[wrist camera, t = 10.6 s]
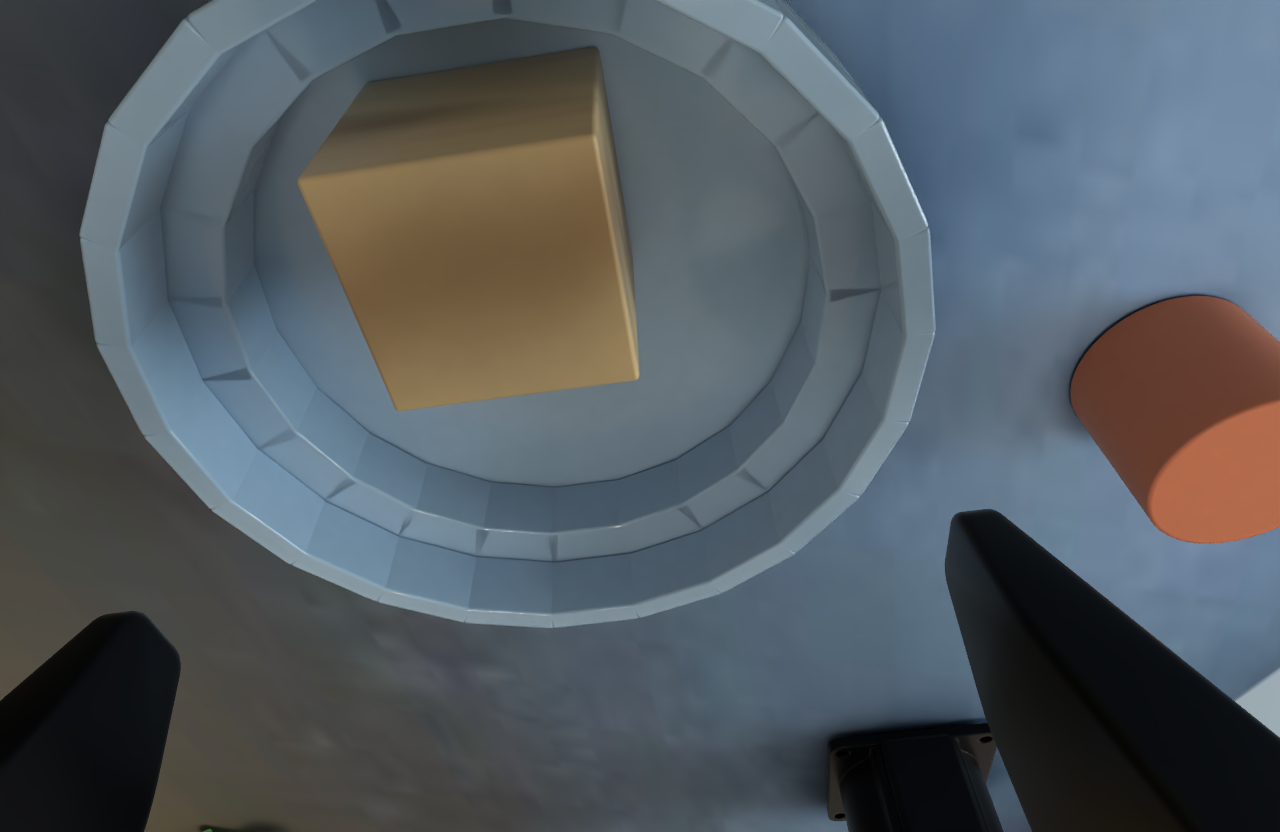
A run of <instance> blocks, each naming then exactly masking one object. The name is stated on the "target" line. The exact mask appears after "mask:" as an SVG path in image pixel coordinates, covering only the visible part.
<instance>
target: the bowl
mask: <svg viewBox="0 0 1280 832" xmlns="http://www.w3.org/2000/svg"><path fill="white" fill-rule="evenodd" d="M589 47H596V48H598V50H599V51H600V57H601V63H602V70H603V76H604V82H605V88H606V94H607V100H608V107H609V113H610V119H611V125H612V131H613V137H614V143H615V150H616V156H617V162H618V168H619V174H620V180H621V186H622V193H623V199H624V205H625V211H626V217H627V223H628V230H629V236H630V242H631V248H632V254H633V267H634V285H635V304H636V322H637V340H638V359H639V377H638V379H637V380H635V381H628V382H620V383H612V384H605V385H597V386H590V387H582V388H574V389H567V390H559V391H552V392H544V393H537V394H529V395H521V396H514V397H506V398H499V399H491V400H483V401H476V402H468V403H461V404H453V405H445V406H438V407H430V408H423V409H415V410H407V411H397V410H396V409H395V408H394V405H393V403H392V401H391V398H390V396H389V394H388V391H387V389H386V387H385V384H384V382H383V380H382V378H381V375H380V373H379V371H378V368H377V366H376V364H375V361H374V359H373V357H372V355H371V352H370V350H369V348H368V345H367V343H366V341H365V338H364V336H363V334H362V331H361V329H360V327H359V325H358V322H357V320H356V318H355V315H354V313H353V311H352V308H351V306H350V304H349V301H348V299H347V297H346V295H345V292H344V290H343V288H342V285H341V283H340V281H339V278H338V276H337V274H336V272H335V269H334V267H333V265H332V262H331V260H330V258H329V255H328V253H327V251H326V248H325V246H324V244H323V242H322V239H321V237H320V235H319V232H318V230H317V228H316V225H315V223H314V221H313V218H312V216H311V214H310V212H309V209H308V207H307V205H306V202H305V200H304V198H303V195H302V193H301V191H300V189H299V186H298V178H299V176H300V175H301V173H302V172H303V171H304V169H305V168H306V166H307V165H308V164H309V162H310V161H311V159H312V158H313V157H314V155H315V154H316V152H317V151H318V150H319V148H320V147H321V145H322V144H323V143H324V141H325V140H326V138H327V137H328V136H329V134H330V133H331V131H332V130H333V129H334V127H335V126H336V124H337V123H338V121H339V120H340V119H341V117H342V116H343V114H344V113H345V112H346V110H347V109H348V107H349V106H350V105H351V103H352V102H353V100H354V99H355V98H356V96H357V95H358V93H359V92H360V91H361V89H362V88H363V86H364V85H365V84H366V83H368V82H375V81H381V80H387V79H394V78H400V77H406V76H413V75H419V74H425V73H432V72H438V71H444V70H450V69H457V68H463V67H469V66H476V65H482V64H488V63H495V62H501V61H507V60H514V59H520V58H526V57H532V56H539V55H545V54H551V53H558V52H564V51H570V50H577V49H583V48H589ZM79 236H80V237H81V238H80V244H81V251H82V258H83V264H84V271H85V277H86V284H87V290H88V297H89V303H90V310H91V317H92V323H93V330H94V336H95V341H96V343H97V348H98V350H99V352H100V354H101V356H102V358H103V360H104V361H105V363H106V365H107V367H108V369H109V371H110V373H111V375H112V377H113V379H114V381H115V383H116V385H117V387H118V389H119V391H120V393H121V394H122V396H123V398H124V400H125V402H126V404H127V406H128V408H129V410H130V412H131V414H132V416H133V418H134V420H135V422H136V424H137V426H138V427H139V429H140V431H141V433H142V434H143V435H144V437H145V439H146V440H147V441H148V442H149V443H150V445H151V446H152V447H153V448H154V449H155V450H156V451H157V452H158V453H159V454H160V455H161V457H162V458H163V459H164V460H165V461H166V462H167V463H168V464H169V465H170V466H171V467H172V468H173V470H174V471H175V472H176V473H177V474H178V475H179V476H180V477H181V478H182V479H183V480H184V482H185V483H186V484H187V485H188V486H189V487H190V488H191V489H192V490H193V491H194V492H195V494H196V495H197V496H198V497H199V498H200V499H201V500H202V501H203V502H204V503H205V504H206V505H207V507H208V508H210V509H212V512H214V513H215V514H217V515H218V516H220V517H221V518H223V519H224V520H226V521H227V522H228V523H230V524H231V525H233V526H234V527H236V528H237V529H239V530H240V531H241V532H243V533H244V534H246V535H247V536H249V537H250V538H252V539H253V540H254V541H256V542H257V543H259V544H260V545H262V546H263V547H265V548H266V549H267V550H269V551H270V552H272V553H273V554H275V555H276V556H278V557H279V558H281V559H282V560H283V561H285V562H286V563H288V564H292V565H293V566H294V567H297V568H299V569H301V570H304V571H306V572H308V573H310V574H313V575H315V576H317V577H320V578H322V579H324V580H327V581H329V582H331V583H333V584H336V585H338V586H340V587H343V588H345V589H347V590H350V591H352V592H354V593H357V594H359V595H361V596H363V597H366V598H368V599H370V600H373V601H377V602H379V603H382V604H387V605H391V606H395V607H399V608H403V609H408V610H412V611H416V612H420V613H425V614H429V615H433V616H437V617H442V618H446V619H450V620H454V621H458V622H464V621H465V622H466V623H472V624H489V625H505V626H521V627H538V628H552V627H554V628H560V627H569V626H578V625H587V624H596V623H605V622H614V621H623V620H632V619H637V618H638V617H639V618H643V617H646V616H649V615H653V614H656V613H659V612H663V611H666V610H669V609H673V608H676V607H679V606H683V605H686V604H689V603H693V602H696V601H699V600H702V599H706V598H709V597H712V596H716V595H718V594H720V593H724V592H726V591H728V590H730V589H732V588H733V587H735V586H737V585H739V584H741V583H743V582H745V581H746V580H748V579H750V578H752V577H754V576H756V575H758V574H759V573H761V572H763V571H765V570H767V569H769V568H771V567H772V566H774V565H776V564H778V563H780V562H782V561H784V560H786V559H787V558H789V557H791V556H793V555H794V554H795V552H798V551H799V550H801V549H802V548H803V547H804V546H805V545H806V544H807V543H809V542H810V541H811V540H812V539H813V538H814V537H815V536H817V535H818V534H819V533H820V532H821V531H822V530H823V529H825V528H826V527H827V526H828V525H829V524H830V523H831V522H832V521H834V520H835V519H836V518H837V517H838V516H839V515H840V514H842V513H843V512H844V511H845V510H846V509H847V508H848V507H850V506H851V505H852V504H853V503H854V502H855V501H856V500H858V499H859V496H861V495H862V494H863V492H864V491H865V489H866V488H867V486H868V485H869V483H870V482H871V480H872V479H873V477H874V476H875V474H876V473H877V471H878V470H879V468H880V467H881V465H882V464H883V462H884V461H885V459H886V458H887V456H888V455H889V453H890V452H891V450H892V449H893V447H894V446H895V444H896V443H897V441H898V440H899V438H900V437H901V435H902V434H903V432H904V431H905V429H906V428H907V426H908V422H909V421H910V420H911V417H912V413H913V410H914V406H915V403H916V399H917V396H918V392H919V389H920V385H921V382H922V378H923V375H924V371H925V368H926V364H927V361H928V357H929V354H930V350H931V347H932V343H933V340H934V336H935V329H936V322H935V305H934V288H933V272H932V255H931V238H930V229H929V228H928V221H927V219H926V217H925V214H924V212H923V210H922V207H921V205H920V203H919V201H918V198H917V196H916V194H915V191H914V189H913V187H912V185H911V182H910V180H909V178H908V176H907V173H906V171H905V169H904V166H903V164H902V162H901V160H900V157H899V155H898V153H897V150H896V148H895V146H894V144H893V141H892V139H891V137H890V134H889V132H888V130H887V128H886V125H885V123H884V121H883V119H882V118H881V116H880V115H879V113H878V112H877V110H876V109H875V108H874V106H873V105H872V104H871V102H870V101H869V100H868V98H867V97H866V96H865V94H864V93H863V92H862V90H861V89H860V88H859V86H858V85H857V84H856V82H855V81H854V80H853V78H852V77H851V75H850V74H849V73H848V71H847V70H846V69H845V67H844V66H843V65H842V63H841V62H840V61H839V59H838V58H837V57H836V55H835V54H834V53H833V51H832V50H831V49H830V48H829V47H828V46H827V45H826V44H825V43H824V42H823V41H822V40H821V38H820V37H819V36H818V35H817V34H816V33H815V32H814V31H813V30H812V29H811V28H810V27H809V26H808V25H807V23H806V22H805V21H804V20H803V19H802V18H801V17H800V16H799V15H798V14H797V13H796V12H795V11H794V10H793V9H792V7H791V6H790V5H789V4H788V3H787V2H786V1H785V0H209V1H208V2H206V3H205V4H203V5H202V6H200V7H198V8H197V9H195V10H194V11H192V12H191V13H189V15H188V16H187V17H186V18H184V19H182V21H181V22H180V23H179V25H178V26H177V27H176V29H175V30H174V31H173V33H172V34H171V35H170V37H169V38H168V39H167V41H166V42H165V43H164V45H163V46H162V47H161V49H160V50H159V51H158V53H157V54H156V55H155V57H154V58H153V59H152V61H151V62H150V63H149V65H148V66H147V67H146V69H145V70H144V71H143V73H142V74H141V75H140V77H139V78H138V79H137V81H136V82H135V83H134V85H133V86H132V87H131V89H130V90H129V91H128V93H127V94H126V95H125V97H124V98H123V99H122V101H121V102H120V103H119V105H118V106H117V107H116V109H115V110H114V111H113V113H112V114H111V115H110V117H109V119H108V122H107V123H106V124H105V126H104V130H103V134H102V139H101V143H100V147H99V152H98V156H97V160H96V164H95V169H94V173H93V177H92V181H91V186H90V190H89V194H88V198H87V203H86V207H85V211H84V215H83V220H82V224H81V228H80V232H79Z"/></svg>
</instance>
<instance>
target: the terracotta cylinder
mask: <svg viewBox="0 0 1280 832" xmlns="http://www.w3.org/2000/svg"><path fill="white" fill-rule="evenodd" d="M1071 403H1072V407H1073V409H1074V412H1075V414H1076V415H1077V417H1078V418H1079V419H1080V421H1081V422H1082V424H1083V425H1084V427H1085V428H1086V429H1087V431H1088V432H1089V434H1090V435H1091V436H1092V438H1093V439H1094V441H1095V442H1096V444H1097V445H1098V446H1099V448H1100V449H1101V451H1102V452H1103V453H1104V455H1105V456H1106V458H1107V459H1108V461H1109V462H1110V463H1111V465H1112V466H1113V468H1114V469H1115V470H1116V472H1117V473H1118V475H1119V476H1120V478H1121V479H1122V480H1123V482H1124V483H1125V485H1126V486H1127V487H1128V489H1129V490H1130V492H1131V493H1132V495H1133V496H1134V497H1135V499H1136V500H1137V502H1138V503H1139V504H1140V506H1141V507H1142V509H1143V510H1144V512H1145V513H1146V514H1147V516H1148V517H1149V519H1150V520H1151V522H1152V523H1153V524H1154V526H1155V527H1157V528H1158V529H1159V530H1160V531H1162V532H1163V533H1165V534H1167V535H1168V536H1170V537H1173V538H1175V539H1178V540H1182V541H1186V542H1192V543H1223V542H1230V541H1236V540H1240V539H1245V538H1249V537H1253V536H1256V535H1259V534H1262V533H1265V532H1268V531H1271V530H1273V529H1276V528H1278V527H1280V342H1279V341H1278V340H1277V339H1276V338H1274V337H1273V336H1272V335H1271V334H1270V333H1269V332H1268V331H1267V330H1265V329H1264V328H1263V327H1262V326H1261V325H1260V324H1259V323H1257V322H1256V321H1255V320H1254V319H1253V318H1252V317H1251V316H1250V315H1248V314H1247V313H1246V312H1245V311H1244V310H1243V309H1241V308H1240V307H1239V306H1238V305H1236V304H1234V303H1232V302H1230V301H1227V300H1224V299H1221V298H1216V297H1210V296H1186V297H1179V298H1174V299H1170V300H1166V301H1162V302H1159V303H1156V304H1154V305H1151V306H1148V307H1146V308H1144V309H1142V310H1139V311H1137V312H1135V313H1133V314H1132V315H1130V316H1128V317H1126V318H1125V319H1123V320H1121V321H1120V322H1119V323H1117V324H1116V325H1114V326H1113V327H1111V328H1110V329H1109V330H1108V331H1107V332H1105V333H1104V334H1103V335H1102V336H1101V337H1100V338H1099V339H1098V340H1097V341H1096V342H1095V343H1094V344H1093V345H1092V346H1091V347H1090V349H1089V350H1088V351H1087V352H1086V353H1085V355H1084V356H1083V358H1082V360H1081V361H1080V363H1079V365H1078V367H1077V369H1076V371H1075V373H1074V376H1073V379H1072V384H1071Z"/></svg>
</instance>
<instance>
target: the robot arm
mask: <svg viewBox="0 0 1280 832" xmlns="http://www.w3.org/2000/svg"><path fill="white" fill-rule="evenodd" d="M945 575H946V581H947V585H948V589H949V592H950V596H951V599H952V603H953V606H954V610H955V613H956V617H957V620H958V624H959V627H960V631H961V634H962V638H963V641H964V645H965V648H966V652H967V655H968V659H969V662H970V666H971V669H972V673H973V676H974V680H975V683H976V687H977V690H978V694H979V697H980V701H981V704H982V707H983V710H984V714H985V717H986V720H987V722H988V723H982V724H972V725H962V726H952V727H943V728H933V729H923V730H913V731H903V732H893V733H883V734H873V735H863V736H853V737H843V738H837V739H834V740H832V741H831V742H830V743H829V744H828V772H827V812H828V817H829V819H830V820H833V821H847V826H848V830H849V832H1003V829H1002V826H1001V824H1000V821H999V818H998V816H997V813H996V810H995V807H994V805H993V802H992V799H991V797H990V794H989V791H988V788H987V786H986V781H987V777H988V774H989V770H990V767H991V764H992V760H993V757H994V753H995V750H996V746H997V748H998V750H999V753H1000V755H1001V757H1002V760H1003V762H1004V765H1005V767H1006V770H1007V772H1008V774H1009V777H1010V779H1011V782H1012V784H1013V786H1014V789H1015V791H1016V794H1017V796H1018V799H1019V801H1020V803H1021V806H1022V808H1023V811H1024V813H1025V816H1026V818H1027V820H1028V823H1029V825H1030V828H1031V830H1032V832H1280V738H1279V737H1278V736H1277V735H1276V734H1274V733H1273V732H1272V731H1271V730H1269V729H1268V728H1267V727H1266V726H1265V725H1263V724H1262V723H1261V722H1259V721H1258V720H1257V719H1256V718H1255V717H1253V716H1252V715H1251V714H1250V713H1248V712H1247V711H1246V710H1245V709H1243V708H1242V707H1241V706H1240V705H1238V704H1237V703H1236V702H1235V701H1233V700H1232V699H1231V698H1230V697H1228V696H1227V695H1226V694H1225V693H1223V692H1222V691H1221V690H1220V689H1218V688H1217V687H1216V686H1215V685H1214V684H1212V683H1211V682H1210V681H1209V680H1207V679H1206V678H1205V677H1204V676H1202V675H1201V674H1200V673H1199V672H1197V671H1196V670H1195V669H1194V668H1192V667H1191V666H1190V665H1189V664H1187V663H1186V662H1185V661H1184V660H1182V659H1181V658H1180V657H1179V656H1177V655H1176V654H1175V653H1174V652H1172V651H1171V650H1170V649H1169V648H1167V647H1166V646H1165V645H1164V644H1163V643H1161V642H1160V641H1159V640H1158V639H1156V638H1155V637H1154V636H1153V635H1151V634H1150V633H1149V632H1148V631H1146V630H1145V629H1144V628H1143V627H1141V626H1140V625H1139V624H1138V623H1136V622H1135V621H1134V620H1133V619H1131V618H1130V617H1129V616H1128V615H1126V614H1125V613H1124V612H1123V611H1121V610H1120V609H1119V608H1118V607H1116V606H1115V605H1114V604H1113V603H1112V602H1110V601H1109V600H1108V599H1107V598H1105V597H1104V596H1103V595H1102V594H1100V593H1099V592H1098V591H1097V590H1095V589H1094V588H1093V587H1092V586H1090V585H1089V584H1088V583H1087V582H1085V581H1084V580H1083V579H1082V578H1080V577H1079V576H1078V575H1077V574H1075V573H1074V572H1073V571H1072V570H1070V569H1069V568H1068V567H1067V566H1065V565H1064V564H1063V563H1062V562H1060V561H1059V560H1058V559H1057V558H1056V557H1054V556H1053V555H1052V554H1051V553H1049V552H1048V551H1047V550H1046V549H1044V548H1043V547H1042V546H1041V545H1039V544H1038V543H1037V542H1036V541H1034V540H1033V539H1032V538H1031V537H1029V536H1028V535H1027V534H1026V533H1024V532H1023V531H1022V530H1021V529H1019V528H1018V527H1017V526H1016V525H1014V524H1013V523H1012V522H1011V521H1009V520H1008V519H1007V518H1006V517H1005V516H1003V515H1002V514H1001V513H999V512H997V511H995V510H992V509H983V510H974V511H966V512H959V513H957V514H955V515H954V517H953V518H952V521H951V526H950V532H949V539H948V545H947V552H946V558H945ZM180 670H181V662H180V657H179V654H178V652H177V650H176V649H175V647H174V646H173V645H172V644H171V643H170V642H169V641H168V639H167V638H166V637H165V636H164V635H163V634H162V633H161V631H160V630H159V629H158V628H157V627H156V626H155V625H154V624H153V622H152V621H151V620H150V619H149V618H148V617H147V616H146V615H145V614H143V613H141V612H138V611H129V612H121V613H112V614H106V615H103V616H100V617H98V618H97V619H95V620H94V621H93V622H91V623H90V624H89V625H88V626H87V627H86V628H84V629H83V630H82V631H81V632H80V633H79V634H77V635H76V636H75V637H74V638H73V639H72V640H70V641H69V642H68V643H67V644H66V645H65V646H63V647H62V648H61V649H60V650H59V651H58V652H56V653H55V654H54V655H53V656H52V657H51V658H49V659H48V660H47V661H46V662H45V663H44V664H43V665H41V666H40V667H39V668H38V669H37V670H36V671H34V672H33V673H32V674H31V675H30V676H29V677H27V678H26V679H25V680H24V681H23V682H22V683H20V684H19V685H18V686H17V687H16V688H15V689H13V690H12V691H11V692H10V693H9V694H8V695H6V696H5V697H4V698H3V699H2V700H1V701H0V832H144V830H145V827H146V824H147V820H148V817H149V813H150V810H151V806H152V803H153V799H154V794H155V790H156V786H157V782H158V777H159V773H160V768H161V763H162V758H163V753H164V748H165V744H166V739H167V734H168V729H169V724H170V720H171V715H172V710H173V705H174V700H175V696H176V691H177V686H178V681H179V676H180Z"/></svg>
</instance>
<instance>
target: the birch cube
mask: <svg viewBox="0 0 1280 832" xmlns="http://www.w3.org/2000/svg"><path fill="white" fill-rule="evenodd" d="M298 186H299V189H300V191H301V193H302V195H303V198H304V200H305V202H306V205H307V207H308V209H309V212H310V214H311V216H312V218H313V221H314V223H315V225H316V228H317V230H318V232H319V235H320V237H321V239H322V242H323V244H324V246H325V248H326V251H327V253H328V255H329V258H330V260H331V262H332V265H333V267H334V269H335V272H336V274H337V276H338V278H339V281H340V283H341V285H342V288H343V290H344V292H345V295H346V297H347V299H348V301H349V304H350V306H351V308H352V311H353V313H354V315H355V318H356V320H357V322H358V325H359V327H360V329H361V331H362V334H363V336H364V338H365V341H366V343H367V345H368V348H369V350H370V352H371V355H372V357H373V359H374V361H375V364H376V366H377V368H378V371H379V373H380V375H381V378H382V380H383V382H384V384H385V387H386V389H387V391H388V394H389V396H390V398H391V401H392V403H393V405H394V408H395V409H396V410H397V411H407V410H415V409H423V408H430V407H438V406H445V405H453V404H461V403H468V402H476V401H483V400H491V399H499V398H506V397H514V396H521V395H529V394H537V393H544V392H552V391H559V390H567V389H574V388H582V387H590V386H597V385H605V384H612V383H620V382H628V381H635V380H637V379H638V377H639V359H638V340H637V322H636V304H635V285H634V267H633V254H632V248H631V242H630V236H629V230H628V223H627V217H626V211H625V205H624V199H623V193H622V186H621V180H620V174H619V168H618V162H617V156H616V150H615V143H614V137H613V131H612V125H611V119H610V113H609V107H608V100H607V94H606V88H605V82H604V76H603V70H602V63H601V57H600V51H599V50H598V48H596V47H589V48H583V49H577V50H570V51H564V52H558V53H551V54H545V55H539V56H532V57H526V58H520V59H514V60H507V61H501V62H495V63H488V64H482V65H476V66H469V67H463V68H457V69H450V70H444V71H438V72H432V73H425V74H419V75H413V76H406V77H400V78H394V79H387V80H381V81H375V82H368V83H366V84H365V85H364V86H363V88H362V89H361V91H360V92H359V93H358V95H357V96H356V98H355V99H354V100H353V102H352V103H351V105H350V106H349V107H348V109H347V110H346V112H345V113H344V114H343V116H342V117H341V119H340V120H339V121H338V123H337V124H336V126H335V127H334V129H333V130H332V131H331V133H330V134H329V136H328V137H327V138H326V140H325V141H324V143H323V144H322V145H321V147H320V148H319V150H318V151H317V152H316V154H315V155H314V157H313V158H312V159H311V161H310V162H309V164H308V165H307V166H306V168H305V169H304V171H303V172H302V173H301V175H300V176H299V178H298Z"/></svg>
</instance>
